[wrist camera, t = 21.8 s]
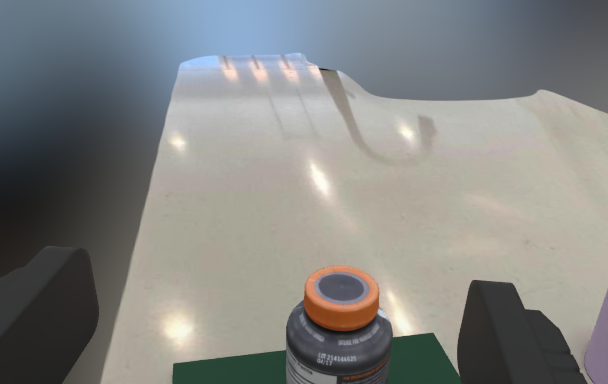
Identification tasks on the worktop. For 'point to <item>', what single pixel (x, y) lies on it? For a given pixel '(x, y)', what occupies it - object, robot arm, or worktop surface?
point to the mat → (272, 366)
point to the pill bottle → (338, 331)
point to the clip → (599, 348)
